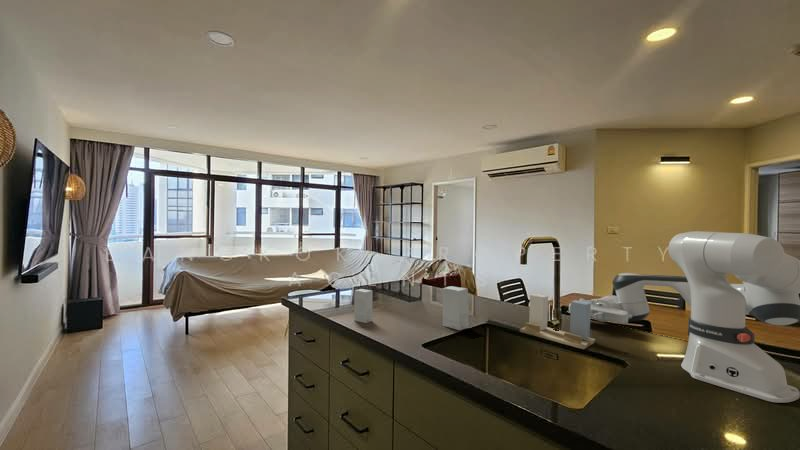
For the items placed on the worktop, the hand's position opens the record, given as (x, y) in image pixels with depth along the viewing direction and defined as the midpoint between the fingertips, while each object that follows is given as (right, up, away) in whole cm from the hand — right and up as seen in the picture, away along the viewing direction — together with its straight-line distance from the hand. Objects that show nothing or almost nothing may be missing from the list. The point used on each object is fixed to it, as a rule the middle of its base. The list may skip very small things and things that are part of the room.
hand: (591, 316), depth 129 cm
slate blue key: (-9, -5, -10) cm, 14 cm away
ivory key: (-20, -4, 0) cm, 20 cm away
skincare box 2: (-50, -5, +2) cm, 51 cm away
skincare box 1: (-86, -4, +7) cm, 86 cm away
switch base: (-16, -6, -6) cm, 18 cm away
